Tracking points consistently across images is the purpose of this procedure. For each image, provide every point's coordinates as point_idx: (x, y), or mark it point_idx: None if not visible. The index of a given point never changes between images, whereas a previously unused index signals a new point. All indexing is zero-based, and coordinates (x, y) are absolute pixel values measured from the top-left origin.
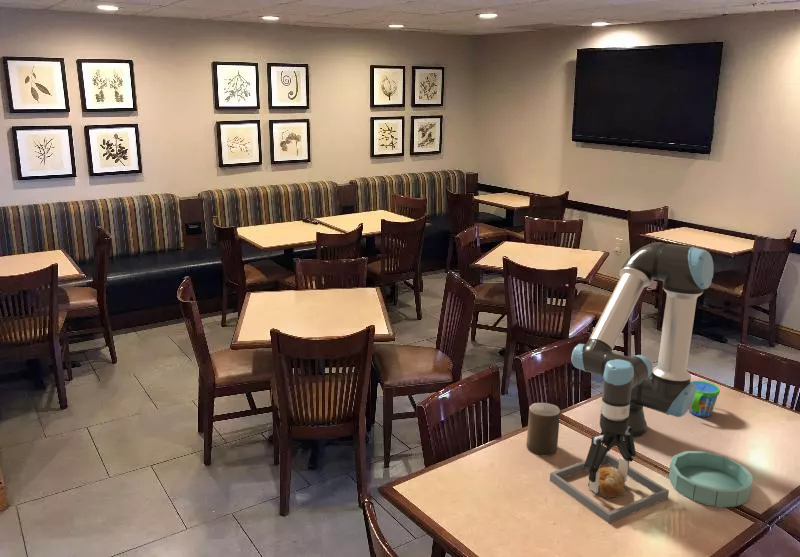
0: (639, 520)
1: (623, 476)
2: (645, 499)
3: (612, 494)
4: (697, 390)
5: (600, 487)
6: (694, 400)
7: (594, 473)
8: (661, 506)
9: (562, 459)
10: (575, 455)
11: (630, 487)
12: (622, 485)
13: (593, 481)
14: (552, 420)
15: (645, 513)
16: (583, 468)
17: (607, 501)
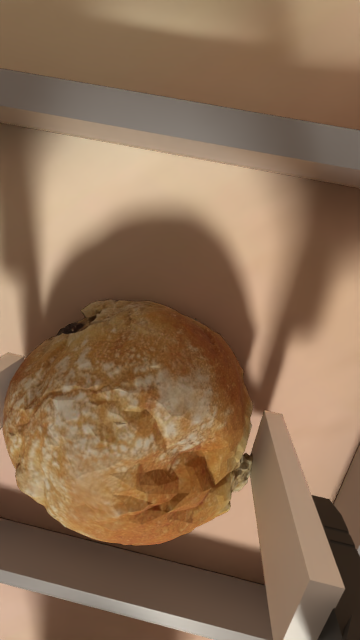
0: (301, 42)
1: (1, 384)
2: (103, 95)
3: (213, 334)
4: None
5: (249, 423)
6: None
7: (355, 593)
8: (17, 44)
9: (104, 633)
10: (30, 611)
11: (18, 314)
12: (110, 327)
13: (320, 502)
14: None
15: (184, 70)
16: (98, 558)
17: (255, 329)
